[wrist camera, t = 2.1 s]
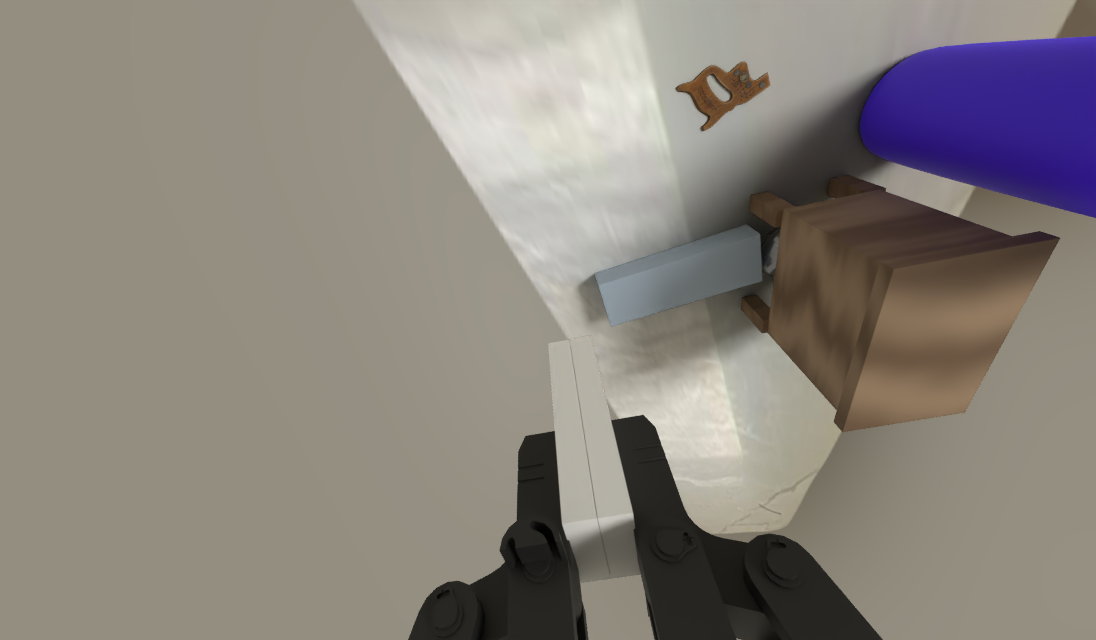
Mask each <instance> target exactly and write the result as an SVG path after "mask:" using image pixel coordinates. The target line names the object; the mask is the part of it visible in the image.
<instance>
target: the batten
mask: <svg viewBox="0 0 1096 640" xmlns="http://www.w3.org/2000/svg"><path fill="white" fill-rule="evenodd" d="M595 277H596V280H597V283H598V286H599V290H600V293H601V296H602V299H603V303H604V306H605V309H606V312H607V316H608V319H609V322H610V325H611V326H615V325H618V324H621V323H625V322H628V321H631V320H635V319H638V318H641V317H645V316H648V315H651V314H655V313H658V312H661V311H665V310H668V309H671V308H675V307H678V306H681V305H685V304H688V303H691V302H695V301H698V300H701V299H705V298H708V297H711V296H715V295H718V294H721V293H725V292H728V291H731V290H735V289H738V288H741V287H745V286H748V285H751V284H755V283H758V282H761V281H762V263H761V240H760V234H759V233H758V232H757V231H755V230H754V229H752V228H751V227H750V226H748V225H747V224H746V225H743V226H740V227H737V228H734V229H730V230H727V231H724V232H721V233H718V234H715V235H712V236H709V237H706V238H703V239H699V240H696V241H693V242H690V243H687V244H684V245H681V246H678V247H675V248H672V249H668V250H665V251H662V252H659V253H656V254H653V255H650V256H647V257H644V258H640V259H637V260H634V261H631V262H628V263H625V264H622V265H619V266H616V267H613V268H609V269H606V270H603V271H600V272H597V273H595Z"/></svg>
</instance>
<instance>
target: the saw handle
mask: <svg viewBox="0 0 1096 640" xmlns="http://www.w3.org/2000/svg"><path fill="white" fill-rule="evenodd" d="M712 74H713V75H714V76H715V77H716V79H717V80H718V81H719V83H720V84H721V85H722V86H723V87H725V88H726V89H727V90H729V91H730V93H731V98H730V99H729V100H728V101H726V102H723V101H721V100H720V99H719V98H718V97H716V95H715V94H714V93H713V92H712V90H711V89H710V87H709V85H708V83H707V77H708V76H709V75H712ZM769 86H770V81H769V77H768V72H767V73H766V74H764V75H763V76H761V77H760V78H759V79H757V80H752V79H751V78H750V75H749V71H748V66H747V63H746V62H741V63H739V64H738V65H737V66H736V67H735V68H733V69H732V70H731V71H730V72H728V73H726V72H725V71H723V70H722V69H721V68H719V67H717V66H714V65H711V66H709V67H707V68H706V69H705V70H703V71H702V72H701V73H700V74H699V75H698V76H697V77H696V78H695V79H694V80H693V81H691V82H688V83H684V84H681V85H679V86H677V87H676V90H677V91H680V92H687V93H689V94H690V95H691V97H692V99H693V101H694V103H695V105H696V107H697V109H698V110H699V111H700V112H702V113H704V114H705V115H707V116H708V121H707V122H706V123H705V124H704V125H703V126H702V127H701V129H702V130H703V131H705V130H707V129H709V128H710V127H712V126H713V125H714V124H715V123H716V122H717V121H718V120H719V119H720V118H721V117H722V116H723V115H724V114H725V113H726V112H728V111H731V110H733V109H734V107H735V106H736V105H738V104H743V103H746V102H747V101H749V100H750V99H752V98H753V97H755V96H756V95H757V94H759V93H760V92H762V91H763V90H764V89H766V88H767V87H769Z"/></svg>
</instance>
